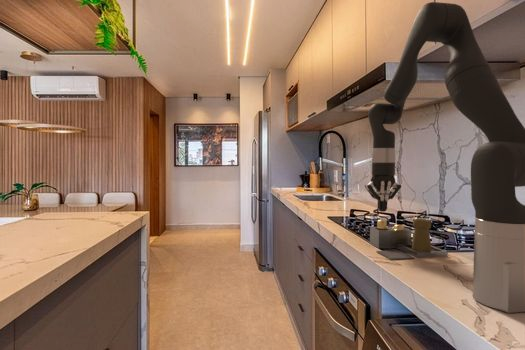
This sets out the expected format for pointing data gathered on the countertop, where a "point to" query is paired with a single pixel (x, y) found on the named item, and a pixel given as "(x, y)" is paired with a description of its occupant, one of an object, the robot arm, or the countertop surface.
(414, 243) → the cork
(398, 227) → the plunger
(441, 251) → the housing
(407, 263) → the countertop surface
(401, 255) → the mat
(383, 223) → the plunger
